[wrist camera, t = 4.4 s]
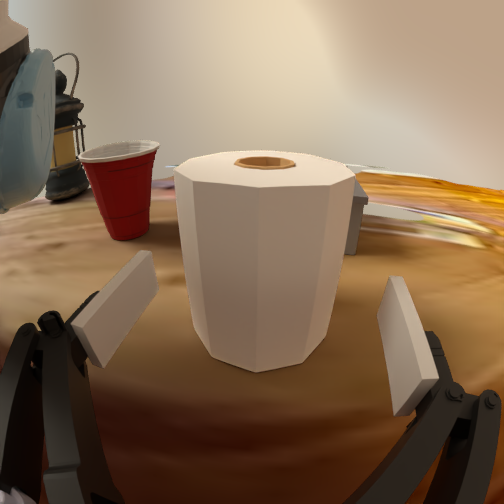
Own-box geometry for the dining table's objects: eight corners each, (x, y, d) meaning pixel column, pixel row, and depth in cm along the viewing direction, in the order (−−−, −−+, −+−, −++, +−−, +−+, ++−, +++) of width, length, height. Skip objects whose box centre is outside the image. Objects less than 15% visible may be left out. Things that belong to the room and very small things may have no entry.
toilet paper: (349, 318, 21) (381, 169, 15) (258, 399, 15) (266, 201, 9) (261, 270, 28) (264, 145, 22) (170, 317, 21) (145, 165, 16)
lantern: (33, 207, 49) (20, 65, 32) (67, 188, 61) (57, 64, 43) (70, 205, 47) (58, 42, 30) (105, 185, 59) (97, 47, 42)
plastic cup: (115, 260, 29) (95, 155, 23) (83, 236, 35) (67, 155, 29) (184, 227, 37) (177, 137, 31) (141, 211, 42) (133, 138, 36)
